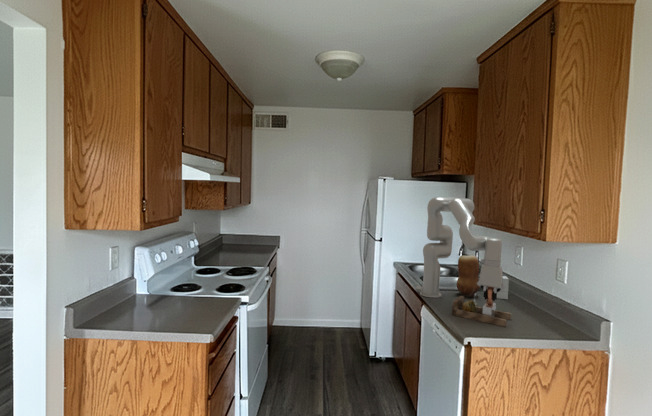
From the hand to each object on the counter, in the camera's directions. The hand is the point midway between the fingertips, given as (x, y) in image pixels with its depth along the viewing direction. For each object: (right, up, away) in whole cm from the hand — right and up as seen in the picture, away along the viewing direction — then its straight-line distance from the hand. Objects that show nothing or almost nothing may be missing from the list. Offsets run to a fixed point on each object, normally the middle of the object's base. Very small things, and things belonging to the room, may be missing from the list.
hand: (489, 299), depth 187 cm
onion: (-8, -9, +6) cm, 14 cm away
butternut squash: (+4, -8, +41) cm, 42 cm away
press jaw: (0, -9, 0) cm, 9 cm away
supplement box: (+24, -9, +42) cm, 49 cm away
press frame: (-3, -10, +2) cm, 10 cm away
